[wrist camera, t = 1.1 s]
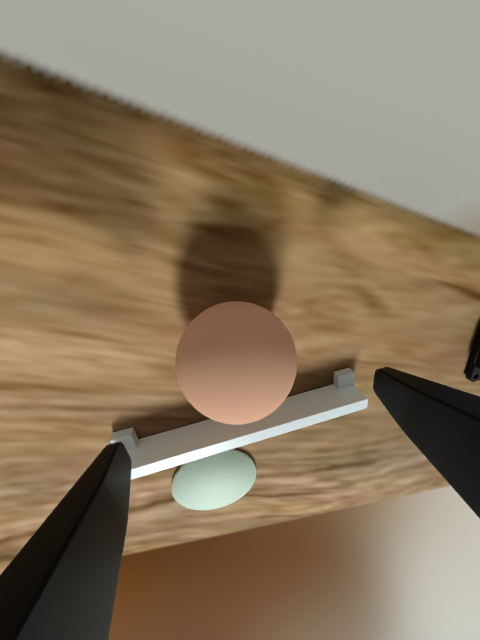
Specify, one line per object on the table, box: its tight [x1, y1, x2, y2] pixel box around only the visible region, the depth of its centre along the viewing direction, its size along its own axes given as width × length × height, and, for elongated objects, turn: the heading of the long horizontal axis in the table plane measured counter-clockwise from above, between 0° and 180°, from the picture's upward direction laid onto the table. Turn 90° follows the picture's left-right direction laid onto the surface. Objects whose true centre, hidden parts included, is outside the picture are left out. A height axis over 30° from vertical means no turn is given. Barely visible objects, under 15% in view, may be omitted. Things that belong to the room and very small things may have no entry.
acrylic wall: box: [110, 368, 368, 480], centre depth 15 cm, size 16×3×2 cm, turn 98°
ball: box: [175, 301, 297, 425], centre depth 11 cm, size 6×6×6 cm
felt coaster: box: [172, 449, 256, 510], centre depth 18 cm, size 6×6×1 cm
